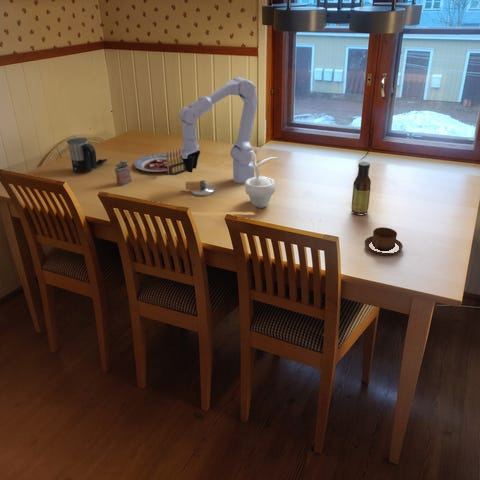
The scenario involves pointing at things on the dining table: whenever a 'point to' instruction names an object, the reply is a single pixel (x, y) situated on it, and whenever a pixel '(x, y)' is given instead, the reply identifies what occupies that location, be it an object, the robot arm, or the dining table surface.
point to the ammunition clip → (175, 163)
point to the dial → (199, 188)
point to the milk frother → (83, 155)
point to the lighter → (123, 173)
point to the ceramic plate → (152, 163)
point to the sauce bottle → (361, 189)
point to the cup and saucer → (383, 240)
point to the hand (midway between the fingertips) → (191, 170)
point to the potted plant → (259, 185)
